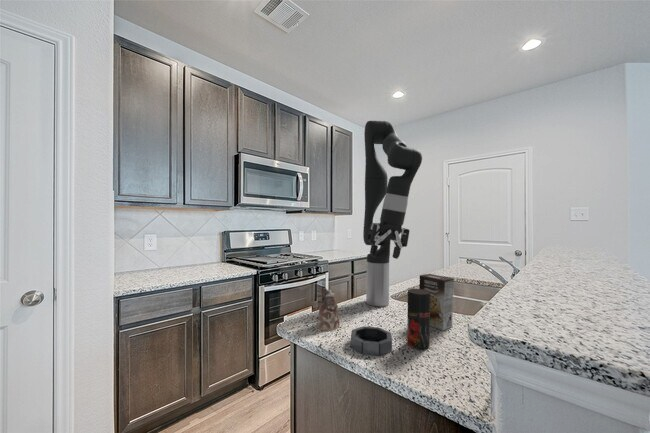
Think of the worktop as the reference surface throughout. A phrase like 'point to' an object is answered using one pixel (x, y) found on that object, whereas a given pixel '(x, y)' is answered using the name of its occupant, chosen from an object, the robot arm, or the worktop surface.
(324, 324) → the figurine
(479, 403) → the worktop surface
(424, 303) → the deodorant
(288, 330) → the worktop surface
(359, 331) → the collar ring
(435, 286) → the coffee box
